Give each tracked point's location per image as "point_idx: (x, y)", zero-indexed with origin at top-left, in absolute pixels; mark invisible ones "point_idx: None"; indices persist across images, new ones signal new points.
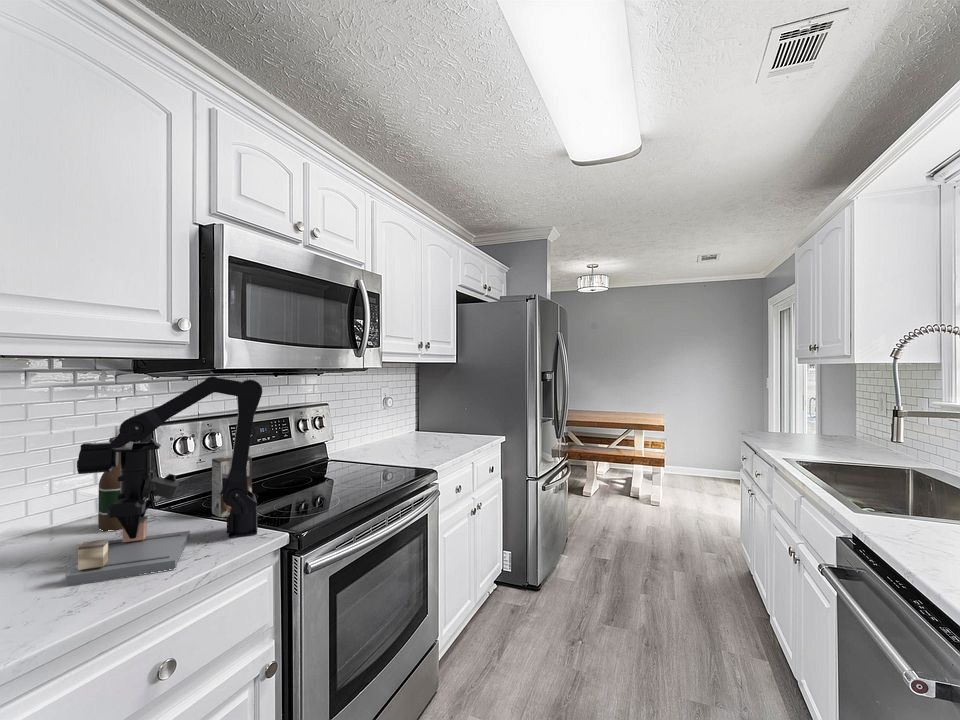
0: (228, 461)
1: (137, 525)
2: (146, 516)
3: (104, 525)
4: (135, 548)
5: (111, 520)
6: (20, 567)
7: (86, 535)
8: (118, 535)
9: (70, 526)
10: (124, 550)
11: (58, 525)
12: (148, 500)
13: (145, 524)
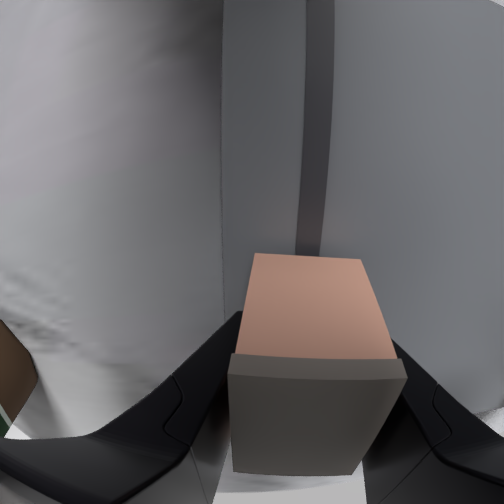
0: None
1: (436, 382)
2: (229, 379)
3: (28, 393)
4: (461, 276)
5: (13, 391)
6: (291, 482)
7: (65, 408)
8: (65, 347)
9: (17, 416)
10: (451, 321)
11: (16, 426)
12: (15, 490)
13: (307, 324)
